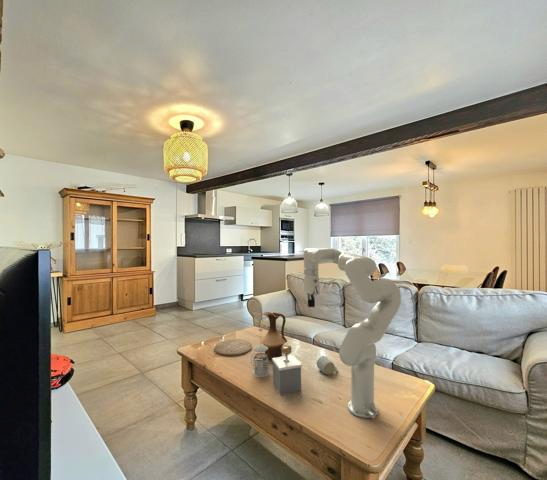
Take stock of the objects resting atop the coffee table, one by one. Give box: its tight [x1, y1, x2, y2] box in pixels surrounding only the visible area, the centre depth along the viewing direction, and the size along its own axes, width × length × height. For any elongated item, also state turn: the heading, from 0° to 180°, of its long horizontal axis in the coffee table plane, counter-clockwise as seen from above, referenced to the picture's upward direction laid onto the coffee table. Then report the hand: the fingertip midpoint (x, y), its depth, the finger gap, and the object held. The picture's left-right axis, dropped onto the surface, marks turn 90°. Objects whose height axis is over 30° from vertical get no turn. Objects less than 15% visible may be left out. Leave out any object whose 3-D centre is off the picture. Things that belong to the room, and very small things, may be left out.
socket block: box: [271, 354, 303, 396], centre depth 146 cm, size 16×12×13 cm
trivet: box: [213, 338, 252, 357], centre depth 193 cm, size 25×25×2 cm
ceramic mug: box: [316, 355, 338, 376], centre depth 160 cm, size 11×8×8 cm
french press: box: [250, 328, 271, 378], centre depth 158 cm, size 10×12×25 cm
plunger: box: [281, 344, 292, 363], centre depth 144 cm, size 5×5×18 cm
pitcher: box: [259, 311, 288, 361], centre depth 180 cm, size 18×17×28 cm
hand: (311, 306), depth 150 cm, fingers closed
